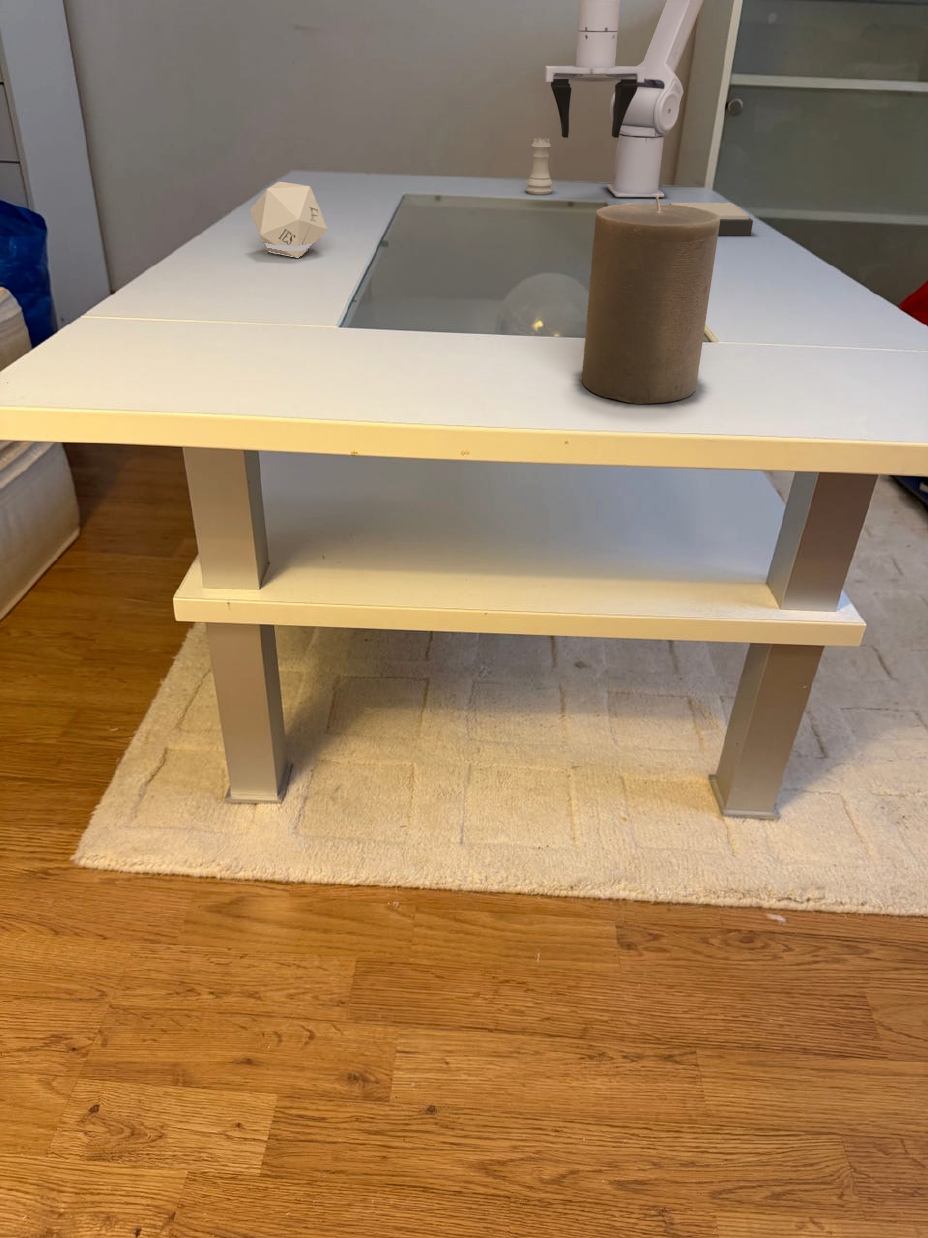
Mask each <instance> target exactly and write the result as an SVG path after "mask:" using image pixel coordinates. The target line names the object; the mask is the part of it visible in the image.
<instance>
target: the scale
mask: <svg viewBox="0 0 928 1238" xmlns="http://www.w3.org/2000/svg"><path fill="white" fill-rule="evenodd" d="M669 205H680V206H688V207H694V208H698V209H702V210H709V211H713V212H714V213H717V214H718V215H719V216H720V225H719V232H718V237H721V236H723V237H727V236H728V237H732V236H733V237H734V236H735V237H740V236H741V237H745V236H746V237H749V236H752V230H753V223H754V220H753V219H752V218H751V217H750V214H748V213H747V212H745V211H744V210H743V209H741V208H740V207H738V206H737V205H735V203H732V202H670V203H669Z"/></svg>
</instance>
